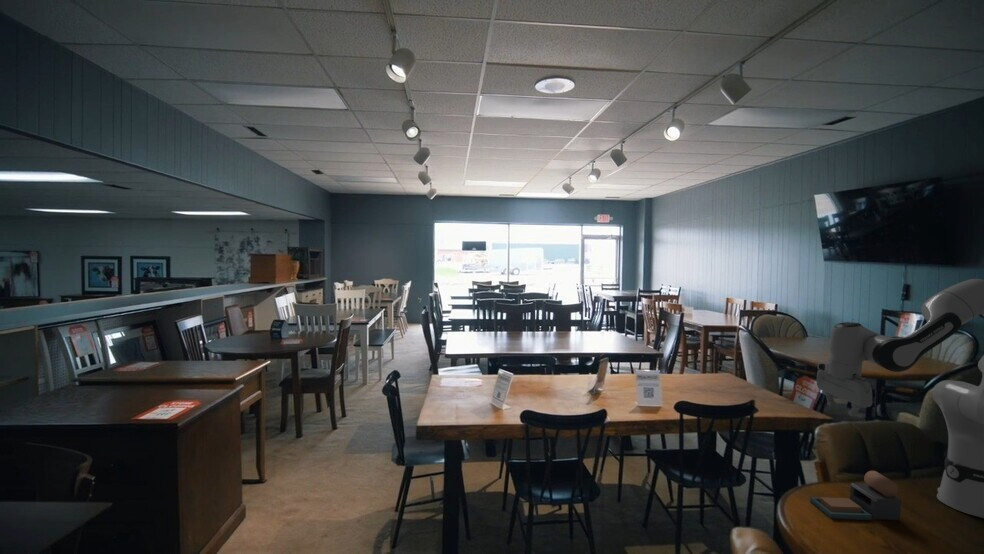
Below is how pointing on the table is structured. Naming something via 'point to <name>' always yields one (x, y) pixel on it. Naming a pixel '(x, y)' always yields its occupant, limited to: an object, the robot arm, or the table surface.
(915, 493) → the table surface
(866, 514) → the tray
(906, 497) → the table surface
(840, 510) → the ticket
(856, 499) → the dispenser
